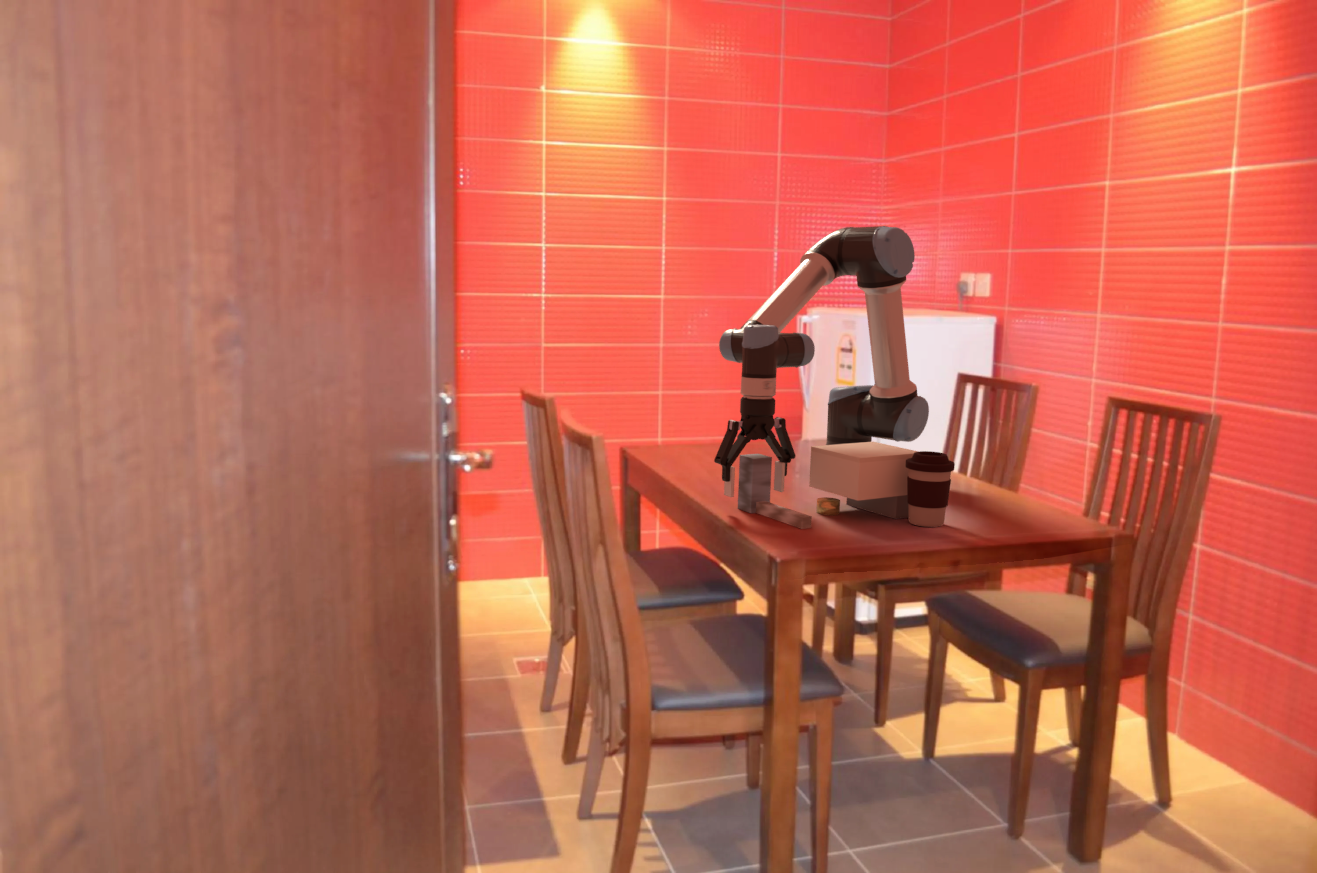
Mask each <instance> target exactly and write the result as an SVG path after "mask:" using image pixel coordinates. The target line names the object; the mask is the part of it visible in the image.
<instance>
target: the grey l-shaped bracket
mask: <svg viewBox="0 0 1317 873" xmlns="http://www.w3.org/2000/svg"><path fill="white" fill-rule="evenodd" d="M772 461H773V457H772V456H770V455H766V454H761V453H748V454H739V465H738V466H739V468H738V487H737V488H738V491H737V492H738V493H737V509H738V510H740V511H743V512H747V513H748V514H749V513H750V514H758V515H761V516H764V517H766V518H769V519H773V520H775V521H778V522H781V523H784V524H787V525H789V526H792V527H795V528H799V529H800V530H805V529H811V528H812V516H811V515H809V514H805V513H803V512H800V511H797V510H794V509H791V508H788V507H784V506H781V505H778V504H775V503H772V502H771V490H772V487H771V486H772V485H771V483H772V464H773V462H772Z"/></svg>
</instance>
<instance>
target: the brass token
mask: <svg viewBox="0 0 1317 873" xmlns="http://www.w3.org/2000/svg"><path fill="white" fill-rule="evenodd" d="M840 510H841V499H839V498H836V497H829V496H828V497H818V498H816V514H819V515H822V516H838V515H840V512H841V511H840Z"/></svg>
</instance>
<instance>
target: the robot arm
mask: <svg viewBox="0 0 1317 873" xmlns="http://www.w3.org/2000/svg"><path fill="white" fill-rule="evenodd" d="M915 258H916V257H915V247H914V243H913V242H912V239H911V237H910V236H909V234H908V233H907V232H905V230H904V229H902V228H900V227H896V226H894V227H893V226H886V225H881V226H878V225H877V226H858V227H856V226H855V227H854V226H845V227H842V228H839V229H837V230H834V231H833V232H831V233H829V234H827V235H825V236H824V237H822V238H820V239H819V240H818V241H817V242H816V243H814V244H813V245H811V247H810V248H809V249H808V250H807V251H806V252H805V253H804V254H803V255H802V256H801V258H800V260H799V265H798V266H797V267H796V268H795V269H794V270H793V272H791V273H790V274H789V276H788V277H787V278H785V280H784V281H783V282H782V283H781V284H780V285H779V287H778V288H776V290H775V291H773V293H771V295H770V296H769V297H768V298H767V299H766V300H765V301H764V303H762V305H761V306H759V308H758V309H757V310H756V311H755V312H754V313H753V314H752V315H751V316H750V318H748V319H747V321H746V322H745V323H744V324H742V326H741V327H740V328H733V329H732V328H731V329H730V328H729V329H727V330H725V331H724V332H723V333H722V335H721V337H720V339H719V343H718V348H719V349H718V350H719V351H720V354H721V356H722V358H723V359H724V360H726V361H729V362H734V363H738V364H741V376H740V378H741V379H740V394H741V395H742V397H740V402H739V403H740V404H739V406H740V407H739V412H740V416H741V417H740V420H734V419H729V420H728V421H727V425H726V426H727V427H726V431H725V434H724V436H723V439H722V441H721V444H720V446H719V448H718V451H717V452H716V455H715V456H714V460H713V462H714V463H715V464H718V465H720V466H721V480H722V482H724V484H723V495H724V496H726V497H729V498H734V497H735V477H736V476H735V474H736V473H735V472H736V467H735V466H733V464H734V463H735V461H736V460H737V459H738V457H740V455H741V453H742V452H743V450H744V449H745V447H746V445H747V444H748V443H750V442H751V440H752V441H757V440H764V441H766V443H767V445H768V446H769V448H770V449H771V451H772V452H773V454H774V455H775V457H776V458H777V459H778V460H775V461H774V473H773V474H774V477H773V478H774V479H773V490H774V491H777V492H779V493H783V492H785V477H787V475H788V464H790V463H791V462H792V460H794V459H796V453H795V451H794V450H795V449H794V447H793V445H792V442H791V439H790V436H789V433H788V431H787V423H786V422H787V421H786V418H783V417H778V416H776V417H775V418H774V415H775V413H776V399H775V398H774V397H775V396H776V393H777V392H776V391H777V390H776V389H777V369H779V368H780V369H781V368H796V369H797V368H799V367H804V366H808V365H809V364H810V363H811V362H812V360H813V359H814V356H815V351H816V350H815V343H814V341H813V339H812V338H811V336H810V335H808V334H805V333H802V332H795V331H793V332H782V331H783V330H784V329H785V328H786V326H788V325H789V323H791V321H792V320H793V319H794V318H795V317H796V316H797V314H799V312H800V311H801V310H802V309H803V308H804V307H805V306H806V305H807V304H808V303H809V301H810V300H812V299H813V298H814V296H815V295H816V294H817V293H818V292H819V290H820V289H822V287H826V286H829V285H830V284H832V283H833V281H834V280H835V279H837V278H839V277H844V276H855V277H856V285H857V288H858V289H860V290H861V291H862V292H864V297H865V307H866V315H867V325H868V326H867V327H868V334H869V343H870V351H871V352H870V354H871V362H872V371H873V380H874V385H870V384H869V385H867V384H866V385H850V386H849V385H847V386H837V387H833V388H832V389H830V391H829V396H828V402H827V424H826V426H827V428H826V430H827V431H826V444H825V445H836V444H849V443H862V442H873V440H872V438H876V439H881V440H882V439H883V440H889V441H895V442H905V443H906V442H907V443H909V442H910V443H911V442H914V441H915V440H917V439H918V438H919V437H920V436H921V434H922V433H924V430H925V428H926V427H927V423H928V420H929V415H930V406H929V403H928V401H927V399H926V398H925V397H923V396H922V395H918V388H917V384H915V383H914V382H913V381H912V380H911V379H910V370H909V357H908V350H907V338H906V329H905V319H904V318H905V317H904V309H903V308H904V307H903V298H902V287H903V285H904V284H905V283H906V282H907V276H908V275H909V274H910V273H911V272H912V270H913V268H914V264H913V263H915ZM773 427H774V429H775V432H776V434H775V433H774V432H773V430H772V429H773ZM740 430H741V431H740ZM776 435H777V438H778V439H777V438H776ZM778 440H779V441H778Z"/></svg>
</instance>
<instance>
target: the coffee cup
mask: <svg viewBox="0 0 1317 873" xmlns="http://www.w3.org/2000/svg"><path fill="white" fill-rule="evenodd" d="M955 465H956V464H955V462H954V461H953V460H950V459H949V456H948V454H946V453H943V452H939V451H928V450H927V451H926V450H925V451H924V450H921V451H919V452H915V453H914V454H913V456H912V458H908V459H906V468H908V476H907V502H908V508H909V517H908V522H909V523H910V525H914V526H916V527H917V526H918V527H923V528H924V527H925V528H938V527H942V526H943V525H944V524H945V518H946V511H947V507H948V505H949V499H950V489H951V484H952V483H951V482H952V478H951V476H952V475H951V474H952V472H953V471H954V470H955Z"/></svg>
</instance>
